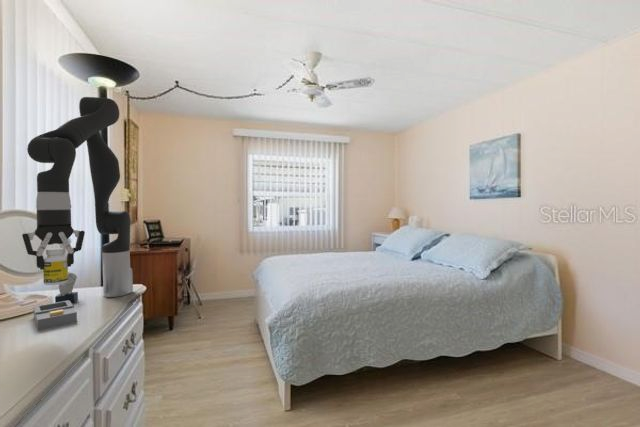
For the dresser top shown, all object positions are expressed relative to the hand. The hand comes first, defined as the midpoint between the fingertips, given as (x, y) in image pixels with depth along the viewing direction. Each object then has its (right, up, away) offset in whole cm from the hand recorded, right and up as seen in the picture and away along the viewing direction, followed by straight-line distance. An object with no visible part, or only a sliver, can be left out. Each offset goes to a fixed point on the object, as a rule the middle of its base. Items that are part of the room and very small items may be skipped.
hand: (55, 267), depth 91 cm
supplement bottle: (0, -5, 0) cm, 5 cm away
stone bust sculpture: (-17, -17, +26) cm, 36 cm away
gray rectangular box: (-10, -18, +11) cm, 23 cm away
